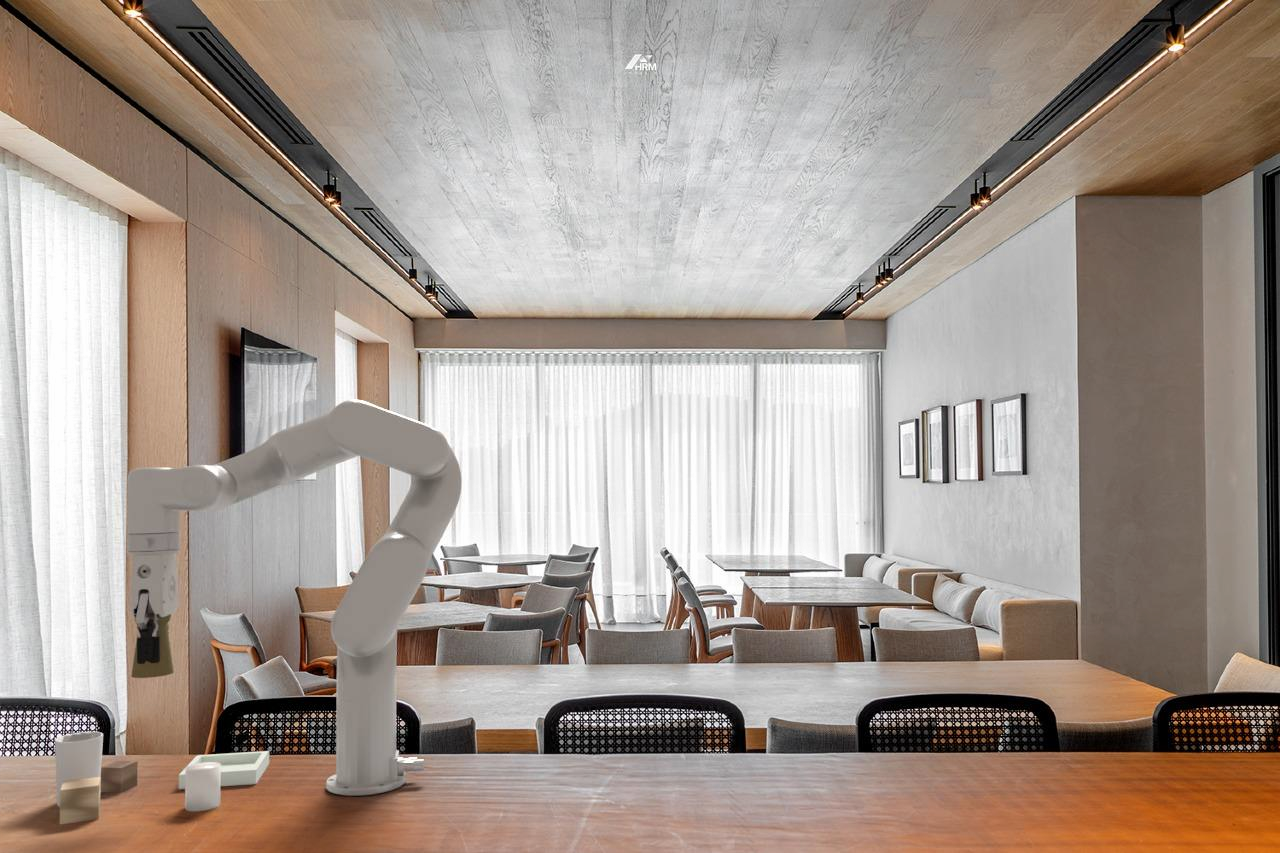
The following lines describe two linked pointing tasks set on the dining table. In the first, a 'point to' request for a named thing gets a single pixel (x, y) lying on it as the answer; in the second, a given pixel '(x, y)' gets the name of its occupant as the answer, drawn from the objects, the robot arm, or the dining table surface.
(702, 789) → the dining table surface
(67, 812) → the oak block
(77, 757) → the drinking glass
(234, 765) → the tray
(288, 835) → the dining table surface
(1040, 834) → the dining table surface
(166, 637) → the olive rounded tall piece
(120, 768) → the walnut block
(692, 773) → the dining table surface
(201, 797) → the white rounded cylinder
